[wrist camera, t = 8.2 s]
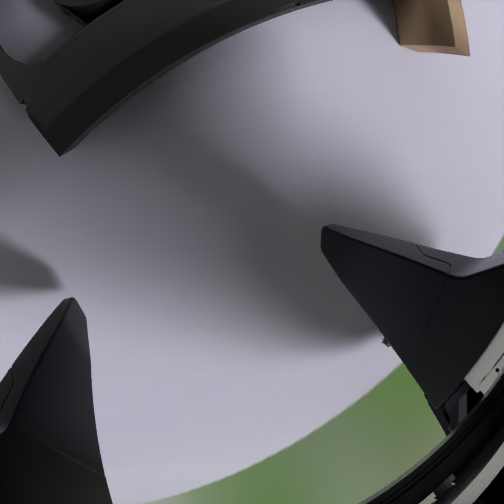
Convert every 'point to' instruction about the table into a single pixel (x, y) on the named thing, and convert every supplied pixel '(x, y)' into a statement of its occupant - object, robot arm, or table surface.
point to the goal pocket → (432, 26)
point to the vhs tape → (123, 56)
